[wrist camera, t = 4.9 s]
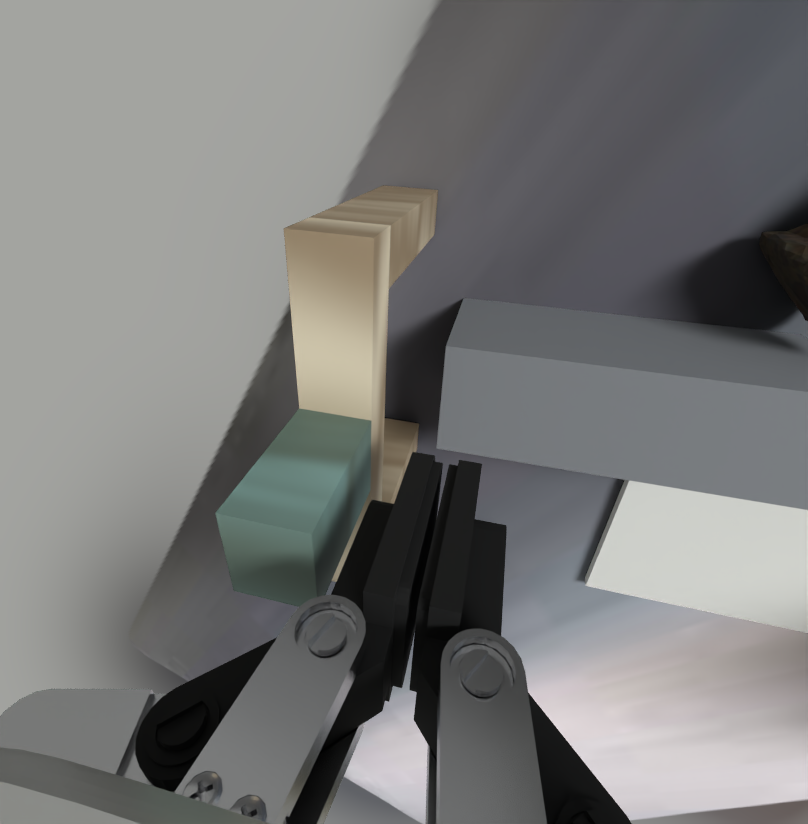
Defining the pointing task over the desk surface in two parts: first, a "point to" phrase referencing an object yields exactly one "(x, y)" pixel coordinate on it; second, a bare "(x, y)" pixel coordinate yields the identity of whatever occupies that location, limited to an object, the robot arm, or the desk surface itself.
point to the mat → (706, 554)
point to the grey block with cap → (630, 399)
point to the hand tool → (789, 262)
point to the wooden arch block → (330, 400)
